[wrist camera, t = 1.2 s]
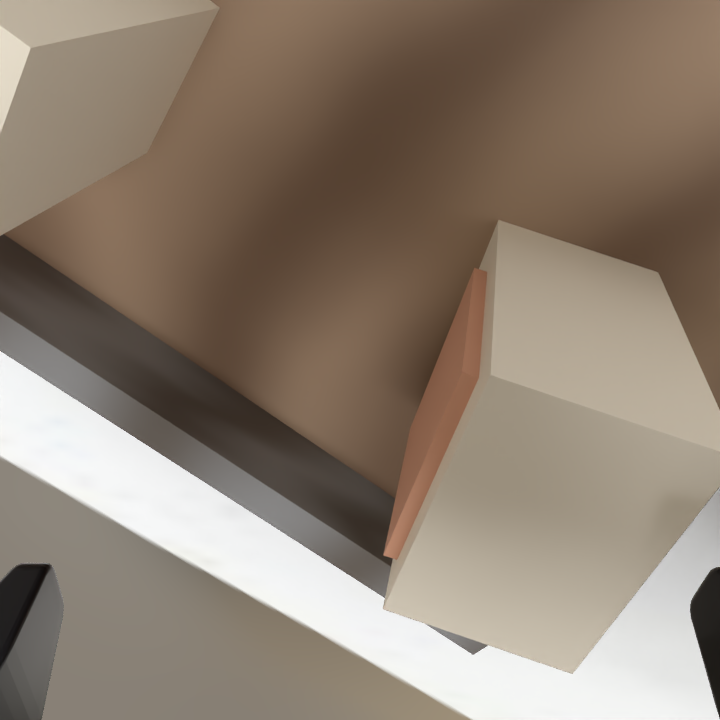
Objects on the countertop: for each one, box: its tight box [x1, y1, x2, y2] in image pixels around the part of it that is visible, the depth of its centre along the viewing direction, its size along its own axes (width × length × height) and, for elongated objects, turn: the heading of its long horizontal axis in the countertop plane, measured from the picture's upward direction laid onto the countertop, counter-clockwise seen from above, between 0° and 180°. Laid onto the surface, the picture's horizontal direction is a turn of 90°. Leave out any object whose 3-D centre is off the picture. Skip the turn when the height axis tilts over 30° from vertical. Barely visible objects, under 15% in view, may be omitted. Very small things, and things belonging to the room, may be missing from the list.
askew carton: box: [383, 220, 720, 674], centre depth 15 cm, size 4×6×7 cm
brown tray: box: [0, 0, 720, 655], centre depth 16 cm, size 22×17×4 cm
